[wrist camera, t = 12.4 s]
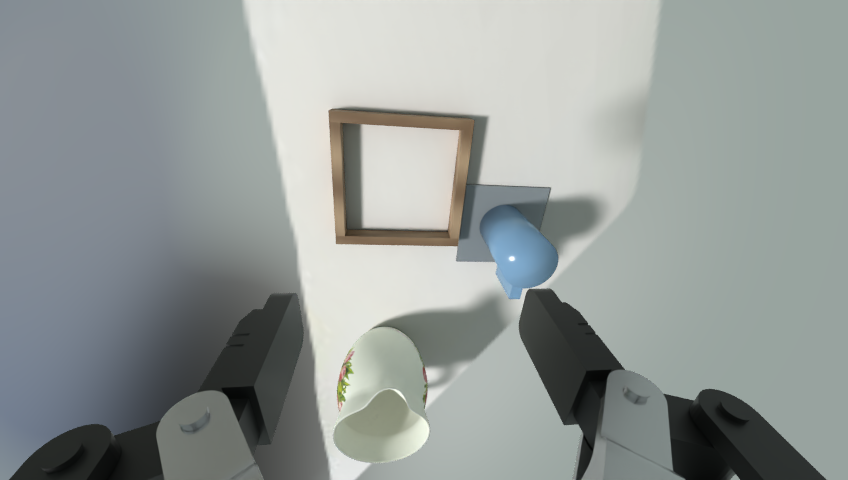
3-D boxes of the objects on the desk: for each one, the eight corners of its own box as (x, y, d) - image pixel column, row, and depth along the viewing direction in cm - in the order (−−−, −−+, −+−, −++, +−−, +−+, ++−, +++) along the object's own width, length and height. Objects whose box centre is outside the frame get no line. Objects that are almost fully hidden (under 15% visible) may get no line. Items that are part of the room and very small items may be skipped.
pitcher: (341, 390, 49) (325, 493, 37) (348, 295, 41) (331, 386, 29) (411, 392, 51) (418, 491, 39) (431, 302, 43) (447, 389, 31)
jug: (483, 204, 37) (508, 239, 29) (528, 205, 38) (564, 240, 30) (473, 262, 41) (493, 308, 33) (515, 263, 41) (544, 307, 33)
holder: (331, 109, 31) (328, 110, 30) (470, 118, 33) (474, 120, 31) (338, 236, 37) (336, 243, 36) (454, 239, 39) (457, 246, 38)
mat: (466, 184, 36) (466, 184, 36) (549, 187, 37) (550, 188, 37) (456, 260, 40) (456, 261, 40) (530, 261, 42) (531, 262, 42)
